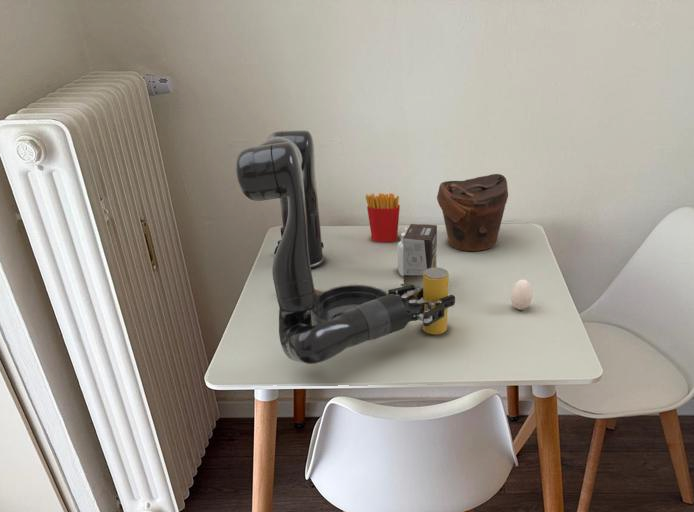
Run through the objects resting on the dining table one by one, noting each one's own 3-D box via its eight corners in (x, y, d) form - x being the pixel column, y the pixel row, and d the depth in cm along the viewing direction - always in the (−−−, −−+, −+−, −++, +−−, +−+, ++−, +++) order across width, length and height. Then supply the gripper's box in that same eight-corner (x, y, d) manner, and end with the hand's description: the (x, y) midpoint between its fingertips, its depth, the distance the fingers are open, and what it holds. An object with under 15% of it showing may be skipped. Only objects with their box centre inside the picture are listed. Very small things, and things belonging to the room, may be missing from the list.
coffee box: (430, 305, 151) (430, 240, 142) (403, 303, 152) (401, 238, 143) (437, 287, 159) (438, 224, 150) (411, 285, 160) (410, 222, 151)
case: (422, 245, 179) (422, 181, 169) (466, 224, 192) (469, 162, 182) (474, 264, 170) (477, 196, 160) (518, 240, 182) (523, 176, 172)
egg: (524, 302, 152) (527, 273, 148) (534, 312, 149) (537, 282, 144) (506, 306, 151) (508, 277, 147) (516, 315, 147) (518, 286, 143)
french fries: (400, 236, 185) (399, 191, 178) (399, 242, 181) (398, 196, 174) (368, 235, 185) (366, 190, 178) (366, 241, 182) (363, 196, 175)
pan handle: (283, 290, 155) (282, 282, 154) (288, 287, 156) (288, 279, 155) (320, 302, 150) (319, 294, 149) (325, 298, 151) (324, 290, 150)
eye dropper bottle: (415, 268, 167) (415, 224, 161) (414, 278, 163) (414, 233, 156) (398, 268, 168) (397, 224, 161) (397, 278, 163) (396, 233, 156)
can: (418, 330, 141) (418, 274, 134) (430, 319, 145) (431, 264, 138) (439, 336, 139) (440, 280, 132) (451, 326, 143) (453, 270, 135)
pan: (295, 322, 145) (294, 310, 144) (344, 289, 158) (344, 278, 157) (362, 345, 137) (361, 332, 136) (409, 308, 150) (408, 297, 149)
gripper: (399, 316, 124) (468, 290, 132) (358, 287, 134) (425, 265, 142) (399, 349, 128) (466, 323, 137) (360, 319, 138) (424, 296, 146)
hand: (445, 293), depth 139 cm, fingers closed on can, 5 cm apart
